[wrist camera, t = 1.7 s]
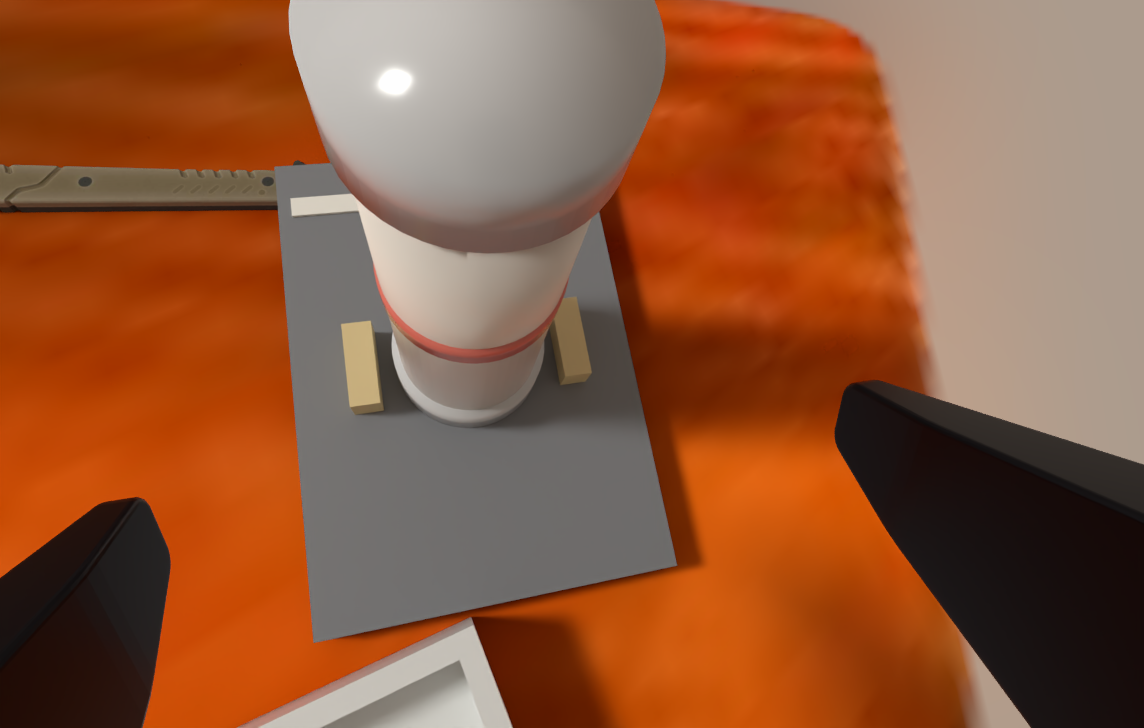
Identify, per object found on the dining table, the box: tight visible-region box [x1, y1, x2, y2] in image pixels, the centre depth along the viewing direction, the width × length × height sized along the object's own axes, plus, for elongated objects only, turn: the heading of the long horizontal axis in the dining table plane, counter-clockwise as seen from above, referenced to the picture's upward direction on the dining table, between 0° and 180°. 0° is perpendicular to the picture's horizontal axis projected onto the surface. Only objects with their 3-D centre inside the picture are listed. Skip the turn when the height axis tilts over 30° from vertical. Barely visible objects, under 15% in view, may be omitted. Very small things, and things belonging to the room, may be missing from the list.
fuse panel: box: [275, 163, 677, 643], centre depth 20 cm, size 14×10×2 cm
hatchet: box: [0, 160, 305, 212], centre depth 21 cm, size 21×7×1 cm, turn 93°
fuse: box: [289, 0, 666, 428], centre depth 14 cm, size 4×4×13 cm
